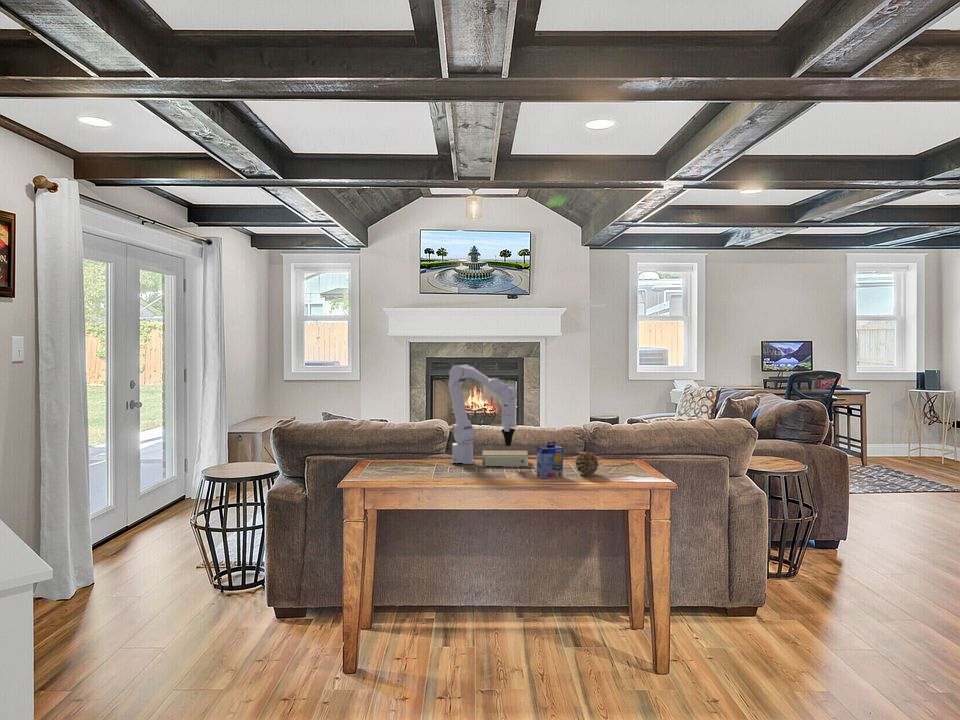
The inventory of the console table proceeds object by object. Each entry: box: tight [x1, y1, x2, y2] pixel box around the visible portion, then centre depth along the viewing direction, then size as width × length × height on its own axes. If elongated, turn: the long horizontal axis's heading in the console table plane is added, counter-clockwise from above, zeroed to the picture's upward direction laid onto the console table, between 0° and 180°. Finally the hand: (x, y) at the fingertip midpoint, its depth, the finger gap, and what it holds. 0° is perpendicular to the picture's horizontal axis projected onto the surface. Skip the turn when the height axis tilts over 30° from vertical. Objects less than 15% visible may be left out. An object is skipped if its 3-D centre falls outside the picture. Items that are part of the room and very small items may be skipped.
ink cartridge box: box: [536, 441, 564, 480], centre depth 267 cm, size 10×6×14 cm, turn 113°
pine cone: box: [574, 451, 600, 476], centre depth 274 cm, size 22×10×10 cm, turn 2°
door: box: [482, 456, 526, 467], centre depth 288 cm, size 18×2×4 cm, turn 88°
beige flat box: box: [481, 449, 529, 468], centre depth 295 cm, size 20×12×5 cm, turn 88°
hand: (508, 445), depth 288 cm, fingers closed
